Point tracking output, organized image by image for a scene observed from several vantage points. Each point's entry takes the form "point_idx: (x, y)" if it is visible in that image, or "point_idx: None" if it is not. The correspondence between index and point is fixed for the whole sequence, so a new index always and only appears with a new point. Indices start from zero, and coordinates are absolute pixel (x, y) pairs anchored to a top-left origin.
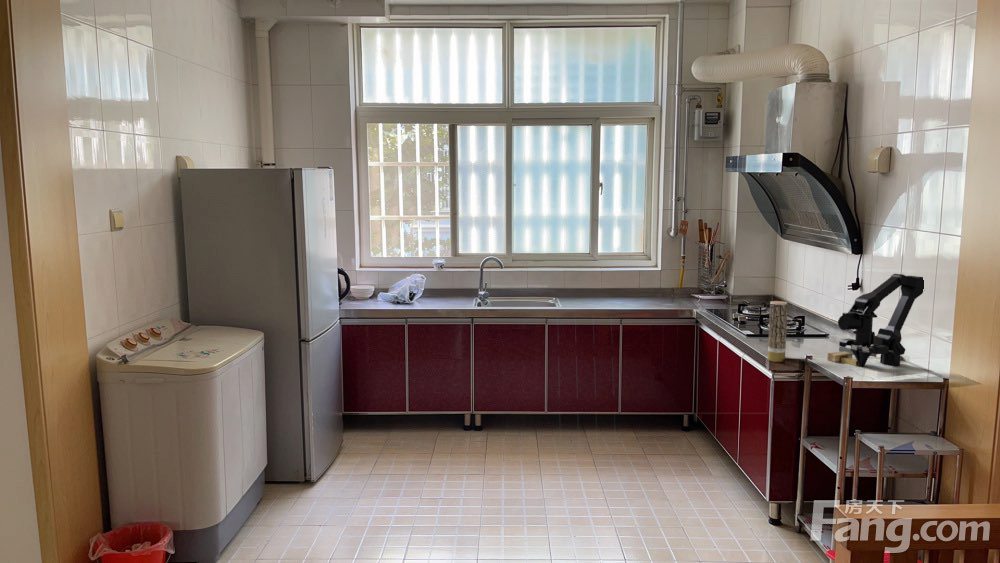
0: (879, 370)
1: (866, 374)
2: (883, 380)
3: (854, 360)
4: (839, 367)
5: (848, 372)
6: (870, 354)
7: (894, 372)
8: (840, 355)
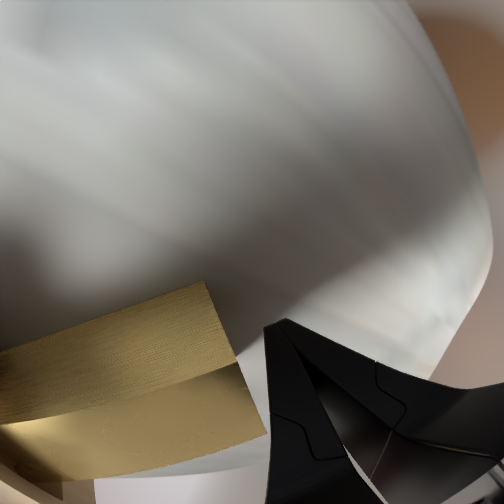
0: (308, 98)
1: (391, 324)
2: (483, 281)
3: (210, 440)
4: None
5: None
6: (479, 393)
7: (403, 22)
8: (53, 500)
